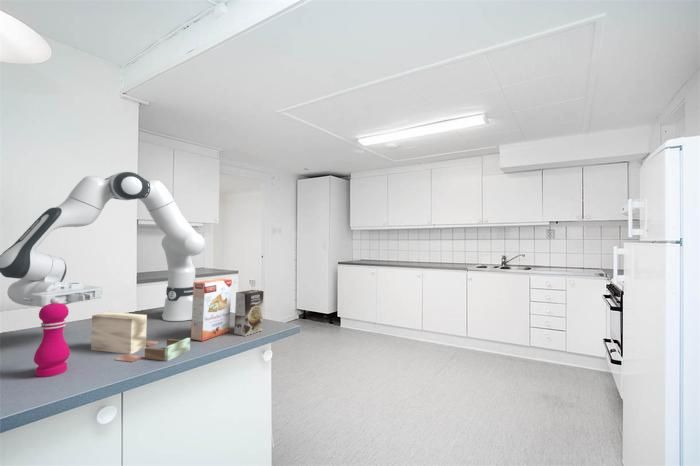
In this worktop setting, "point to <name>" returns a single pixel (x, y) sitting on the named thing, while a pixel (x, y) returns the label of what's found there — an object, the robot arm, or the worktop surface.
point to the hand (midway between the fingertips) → (87, 297)
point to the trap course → (161, 351)
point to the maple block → (118, 332)
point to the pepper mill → (52, 340)
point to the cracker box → (210, 308)
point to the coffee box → (248, 312)
